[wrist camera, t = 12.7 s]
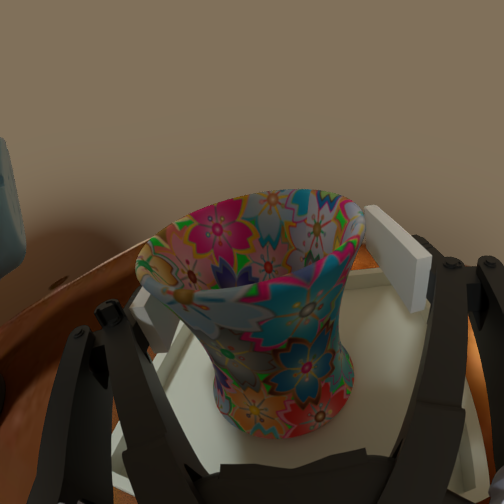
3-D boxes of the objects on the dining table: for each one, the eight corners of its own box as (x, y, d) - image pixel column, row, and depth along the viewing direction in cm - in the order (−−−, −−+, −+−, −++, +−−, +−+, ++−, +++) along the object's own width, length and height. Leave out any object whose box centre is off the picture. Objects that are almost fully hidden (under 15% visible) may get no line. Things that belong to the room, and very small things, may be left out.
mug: (286, 482, 10) (222, 348, 5) (185, 391, 17) (110, 252, 12) (404, 338, 16) (417, 182, 12) (303, 299, 23) (281, 173, 18)
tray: (112, 486, 10) (91, 473, 9) (207, 300, 28) (200, 282, 27) (471, 505, 5) (490, 495, 4) (413, 284, 22) (415, 263, 21)
